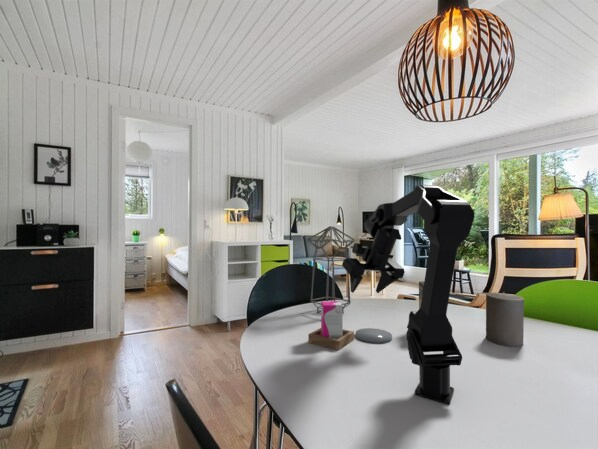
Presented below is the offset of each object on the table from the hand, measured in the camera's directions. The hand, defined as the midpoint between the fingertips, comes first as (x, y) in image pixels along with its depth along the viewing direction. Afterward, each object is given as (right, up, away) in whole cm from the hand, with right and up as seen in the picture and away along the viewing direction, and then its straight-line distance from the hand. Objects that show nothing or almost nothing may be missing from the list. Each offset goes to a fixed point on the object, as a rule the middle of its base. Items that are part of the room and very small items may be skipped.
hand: (364, 292), depth 92 cm
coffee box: (+23, -15, +8) cm, 29 cm away
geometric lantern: (-7, -15, +30) cm, 35 cm away
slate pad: (+3, -15, +3) cm, 15 cm away
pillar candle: (+43, -15, +1) cm, 45 cm away
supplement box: (-10, -15, -1) cm, 18 cm away
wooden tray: (-10, -14, -1) cm, 18 cm away
